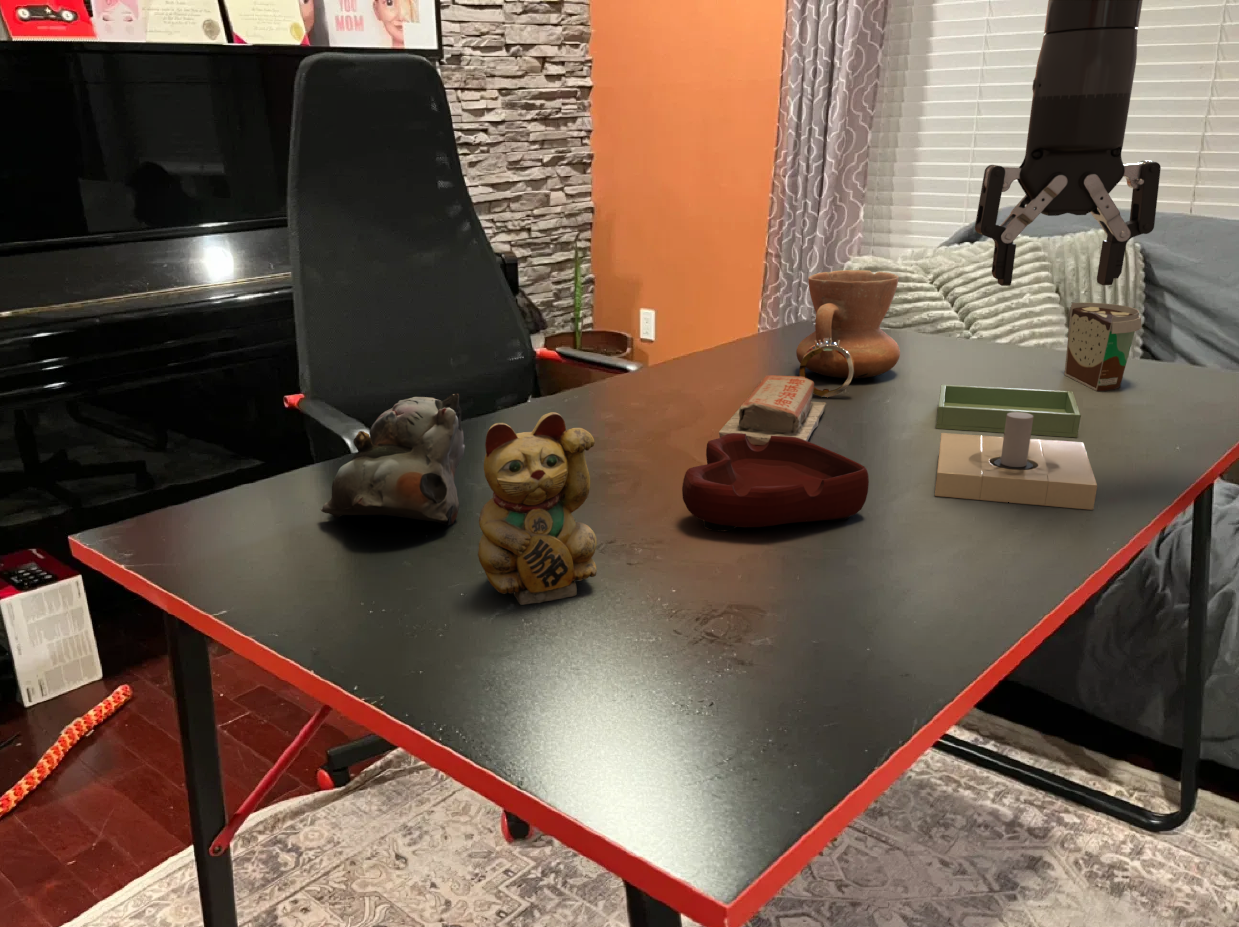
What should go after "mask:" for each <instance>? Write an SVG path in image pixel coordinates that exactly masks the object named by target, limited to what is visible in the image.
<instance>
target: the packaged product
mask: <svg viewBox="0 0 1239 927" xmlns="http://www.w3.org/2000/svg"><path fill="white" fill-rule="evenodd" d="M814 387H815V382H814V380H812V379H809V378H808V377H807V378H805V377H801V376H800V375H799V376H797V375H773V374H771V375H765V376H764V377H763V378H762V380H761V381H759V383H758V384H757V385H756V387H755V389H753V390H752V392H751V393H750V394H749V395H748V396H747V398H746V399H745V401H743V403H742V404H741V406H740V407H739V408H738V409H737V410H736V411H735V413H733V415H732V416H731V417H730V418H729V420H728V421H726V423H725V424H724V425H723V426H722V428H721V429H720V430H719V431H718V436H719V438H720V437H722V436H724V435H726V434H729V433H743V434H746V436H747V439H748V440H749V442H750V443H751V444H753V445H755V446H762V445H765V444H766V443H768V441H769V440H770V438H771V436H787V437H797V438H800V439H803V440H806V441H808V442H809V439H810V437H811V435H812V433H813V432H814V430H816V428H817V427H818V426H819V422H820V418H821V417H822V415H823V413H824V411H825V408H826V407H827V402H823V401H822V402H821V401H812V399H813V396H814V393H813V390H814Z"/></svg>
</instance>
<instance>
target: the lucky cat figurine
mask: <svg viewBox="0 0 1239 927" xmlns="http://www.w3.org/2000/svg"><path fill="white" fill-rule="evenodd" d="M464 440H465V439H464V430H463V428H462V408H461V407H460V394H459V393H453V394H451V395H449V396H447V398H445V399H443V400H440V399H436V398H435V397H427V396H426V397H425V396H413V397H410V398H405V399H400V400H398V401H397V403H395V404H394V405H393V407H392V408H390V409H389V408H388V410H385V411H384V412H383V413H381V414H380V415H379V416H378V417H377V418H376V420H375V421H374V422H373V424H372V425H371V427H370V429H369V433H368V432H366V431H363V430H359V431H358V432H357V434H356V435H355V438H353V442H352V443H353V445H354V446H355V448H356V450H357V453H356V454H355V455H354V456H352V458H351V459H350V461H348V462H347V463H345V464H343V465H342V466H340V467H339V469H338V471H337V473H336V474H335V477H334V479H333V481H332V483H331V497H330V500H329V501H326V502H325V503H323V505H322V508H319V510H320V511H321V512H322V513H324V514H330V515H331V516H332V517H334V518H335V519H339V518H340V517H342V516H389V517H397V518H403V519H404V518H405V519H412V520H420V521H427V522H436V523H439V524H442V525H445V526H450V525H453V524H454V522H455V520H456V519H457V517H458V514H459V508H460V503H459V502H460V500H459V497H458V490H457V487H456V485H455V475H456V470H457V468H458V466H459V464H460V462H461V460H462V459H463V457H464V454H465V447H466V445H465V443H464Z"/></svg>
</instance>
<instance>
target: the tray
mask: <svg viewBox="0 0 1239 927" xmlns="http://www.w3.org/2000/svg"><path fill="white" fill-rule="evenodd" d="M1011 412H1023V413H1028V414H1031V415H1033V423H1032V430H1031V436H1048V437H1059V438H1060V437H1063V438H1078V435H1079V429H1080V422H1081V416H1082V415H1081V412H1080V409H1079V407H1078V403H1077V401H1076V397H1075V395H1074V393H1073V391H1071V390H1056V389H1055V390H1053V389H1037V388H1036V389H1032V388H1015V387H1014V388H1013V387H997V386H996V387H993V386H979V385H977V386H976V385H975V386H974V385H957V384H956V385H955V384H941V385H940V390H939V398H938V407H937V416H936V425H935V428H936V429H940V430H955V431H968V432H969V431H971V432H988V433H1001V434H1004V431H1005V424H1006V416H1007V414H1008V413H1011Z"/></svg>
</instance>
